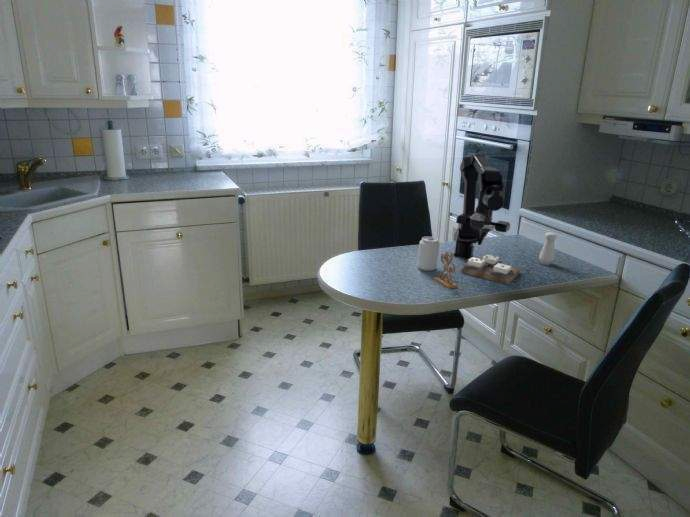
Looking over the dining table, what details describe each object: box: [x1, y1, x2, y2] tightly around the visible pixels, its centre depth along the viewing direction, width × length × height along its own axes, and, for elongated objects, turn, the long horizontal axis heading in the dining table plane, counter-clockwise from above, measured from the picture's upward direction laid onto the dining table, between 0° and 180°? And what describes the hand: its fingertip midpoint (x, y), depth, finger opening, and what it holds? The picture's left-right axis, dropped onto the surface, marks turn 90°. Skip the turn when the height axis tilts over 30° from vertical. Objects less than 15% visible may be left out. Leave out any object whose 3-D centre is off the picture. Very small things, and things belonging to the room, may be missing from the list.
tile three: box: [466, 256, 485, 268], centre depth 194 cm, size 5×5×2 cm
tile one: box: [493, 263, 512, 274], centre depth 189 cm, size 5×5×2 cm
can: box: [416, 236, 441, 272], centre depth 194 cm, size 8×8×12 cm
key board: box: [460, 260, 521, 285], centre depth 195 cm, size 18×15×3 cm
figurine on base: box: [433, 251, 458, 290], centre depth 180 cm, size 9×4×12 cm, turn 27°
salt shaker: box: [538, 231, 557, 266], centre depth 208 cm, size 6×6×13 cm
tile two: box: [481, 253, 500, 264], centre depth 198 cm, size 5×5×2 cm
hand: (479, 244), depth 192 cm, fingers closed
